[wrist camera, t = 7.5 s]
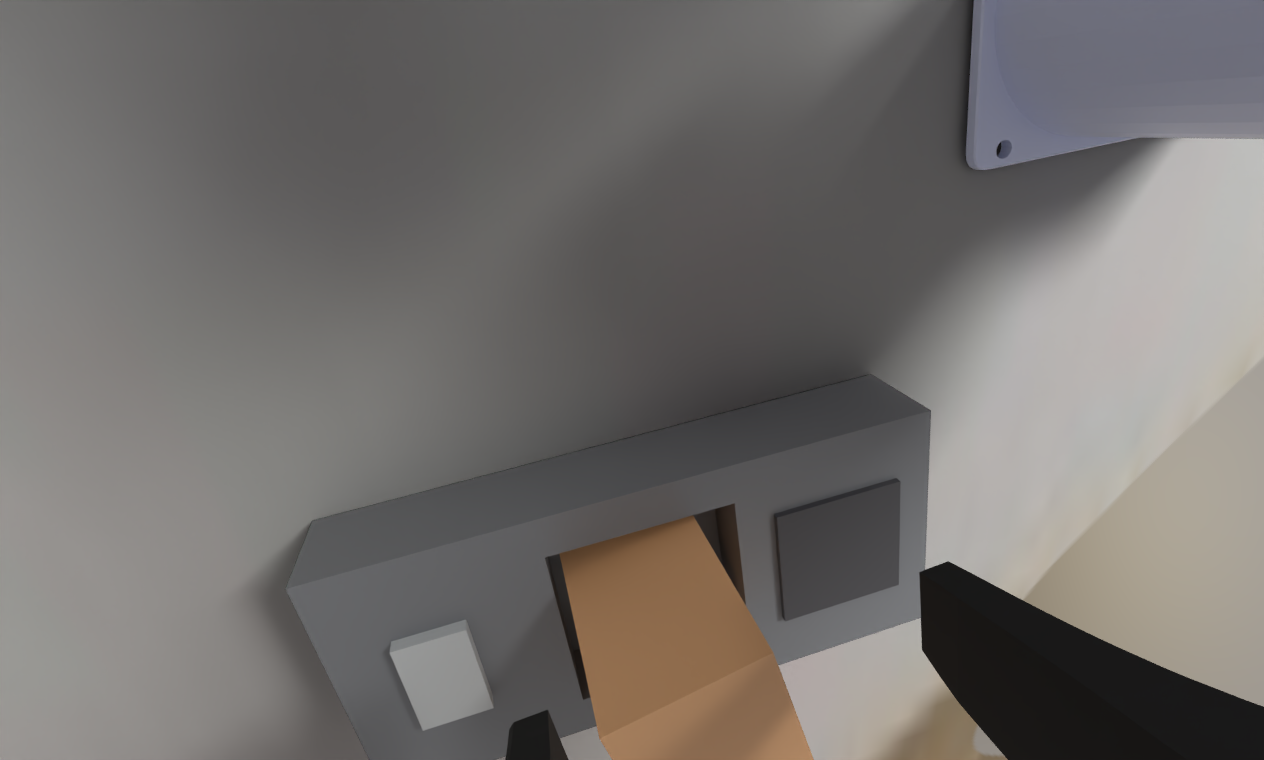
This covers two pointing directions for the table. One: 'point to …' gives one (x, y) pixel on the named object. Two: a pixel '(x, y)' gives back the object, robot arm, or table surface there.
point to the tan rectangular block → (676, 652)
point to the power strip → (597, 511)
